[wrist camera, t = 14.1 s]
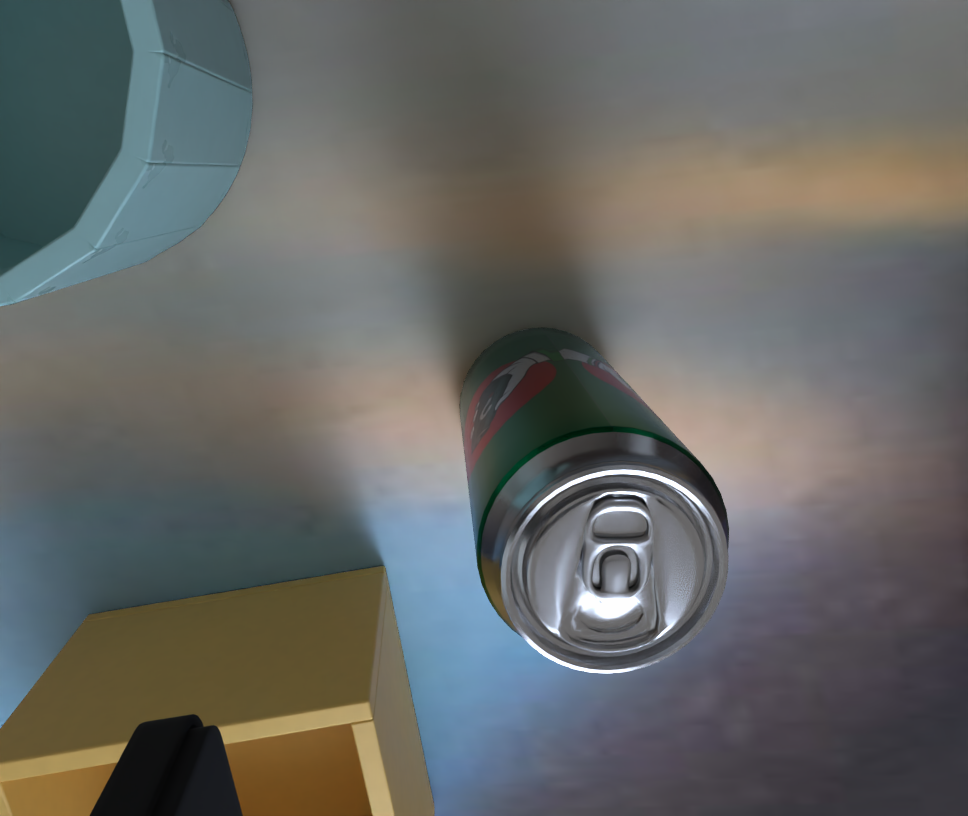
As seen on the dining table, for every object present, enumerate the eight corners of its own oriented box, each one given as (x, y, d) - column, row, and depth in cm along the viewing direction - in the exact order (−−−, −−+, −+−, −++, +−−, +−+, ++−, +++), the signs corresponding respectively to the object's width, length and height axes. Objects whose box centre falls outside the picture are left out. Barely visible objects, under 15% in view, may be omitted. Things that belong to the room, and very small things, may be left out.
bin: (87, 614, 28) (-33, 768, 21) (385, 564, 28) (368, 700, 21) (165, 852, 31) (84, 1060, 23) (434, 806, 31) (435, 998, 24)
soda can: (457, 473, 27) (476, 693, 16) (459, 323, 26) (482, 444, 14) (607, 473, 28) (734, 689, 16) (618, 325, 26) (765, 444, 15)
